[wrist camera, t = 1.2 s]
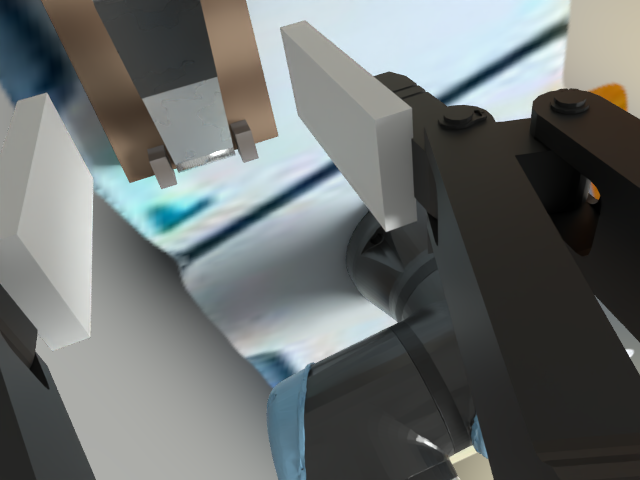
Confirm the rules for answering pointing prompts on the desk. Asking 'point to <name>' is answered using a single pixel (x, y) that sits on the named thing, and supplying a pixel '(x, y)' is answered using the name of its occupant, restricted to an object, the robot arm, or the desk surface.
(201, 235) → the desk surface
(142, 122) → the base
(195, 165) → the silver metal piece
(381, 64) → the desk surface
